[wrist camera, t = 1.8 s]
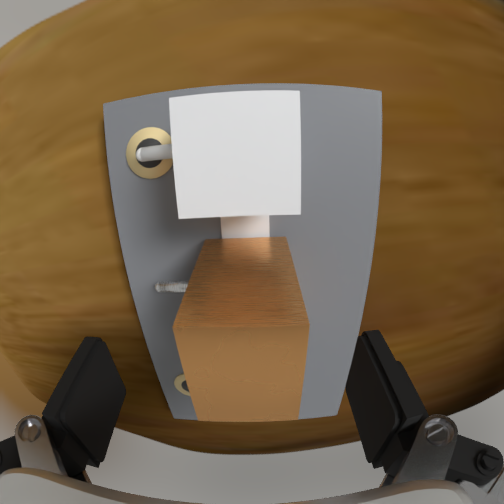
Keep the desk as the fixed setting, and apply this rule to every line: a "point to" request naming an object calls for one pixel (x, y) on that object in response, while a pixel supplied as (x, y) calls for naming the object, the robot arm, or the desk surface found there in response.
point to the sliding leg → (242, 331)
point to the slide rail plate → (250, 207)
